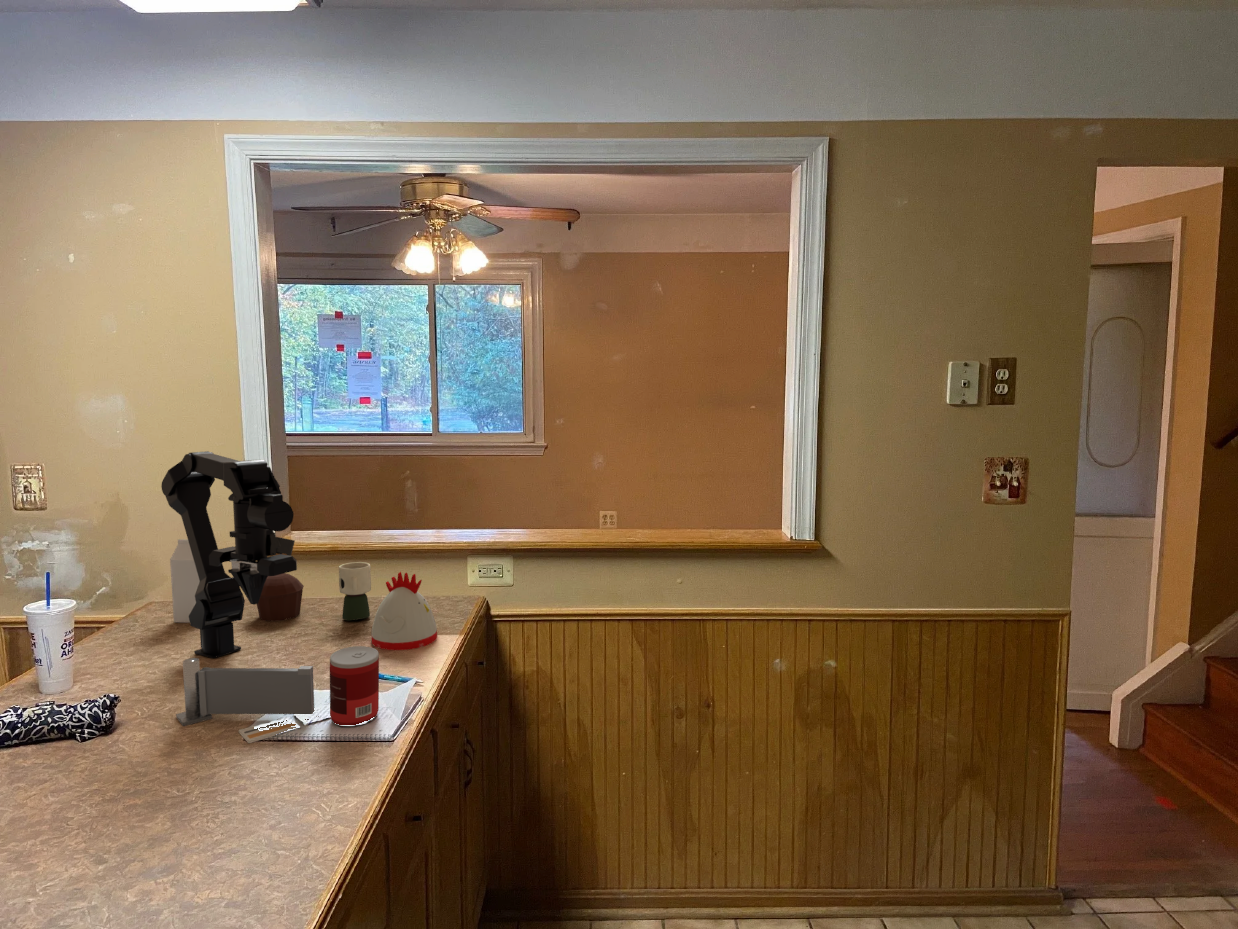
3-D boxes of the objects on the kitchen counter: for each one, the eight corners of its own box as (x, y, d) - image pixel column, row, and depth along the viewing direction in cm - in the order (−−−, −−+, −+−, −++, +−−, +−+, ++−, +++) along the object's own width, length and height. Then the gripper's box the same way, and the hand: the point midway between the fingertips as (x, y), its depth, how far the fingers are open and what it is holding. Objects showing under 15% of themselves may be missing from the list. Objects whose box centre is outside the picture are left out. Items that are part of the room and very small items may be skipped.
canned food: (385, 707, 135) (386, 647, 133) (366, 730, 127) (366, 666, 125) (343, 703, 136) (343, 643, 134) (321, 725, 128) (321, 662, 126)
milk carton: (203, 623, 181) (199, 543, 179) (173, 623, 181) (168, 542, 179) (219, 614, 188) (216, 536, 186) (190, 613, 188) (186, 536, 186)
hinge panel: (200, 714, 130) (198, 669, 129) (206, 710, 132) (203, 665, 131) (311, 715, 130) (309, 669, 129) (315, 710, 132) (313, 665, 131)
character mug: (341, 613, 189) (340, 561, 188) (372, 611, 191) (371, 559, 190) (338, 627, 179) (337, 571, 177) (371, 624, 181) (369, 570, 179)
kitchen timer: (419, 652, 163) (417, 582, 161) (359, 647, 166) (356, 578, 164) (447, 631, 176) (445, 566, 175) (391, 627, 179) (389, 563, 178)
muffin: (258, 610, 191) (256, 570, 190) (306, 606, 194) (304, 567, 193) (250, 625, 180) (248, 583, 179) (302, 621, 183) (300, 579, 182)
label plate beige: (289, 718, 131) (289, 715, 131) (300, 728, 127) (300, 725, 127) (238, 732, 126) (238, 729, 126) (248, 743, 122) (248, 740, 122)
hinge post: (182, 726, 128) (179, 667, 127) (176, 717, 131) (172, 660, 130) (212, 718, 131) (209, 661, 130) (204, 710, 134) (201, 654, 133)
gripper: (318, 522, 153) (321, 600, 155) (255, 514, 162) (258, 588, 163) (269, 532, 143) (273, 615, 145) (205, 523, 152) (209, 601, 154)
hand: (254, 603), depth 152 cm, fingers closed
